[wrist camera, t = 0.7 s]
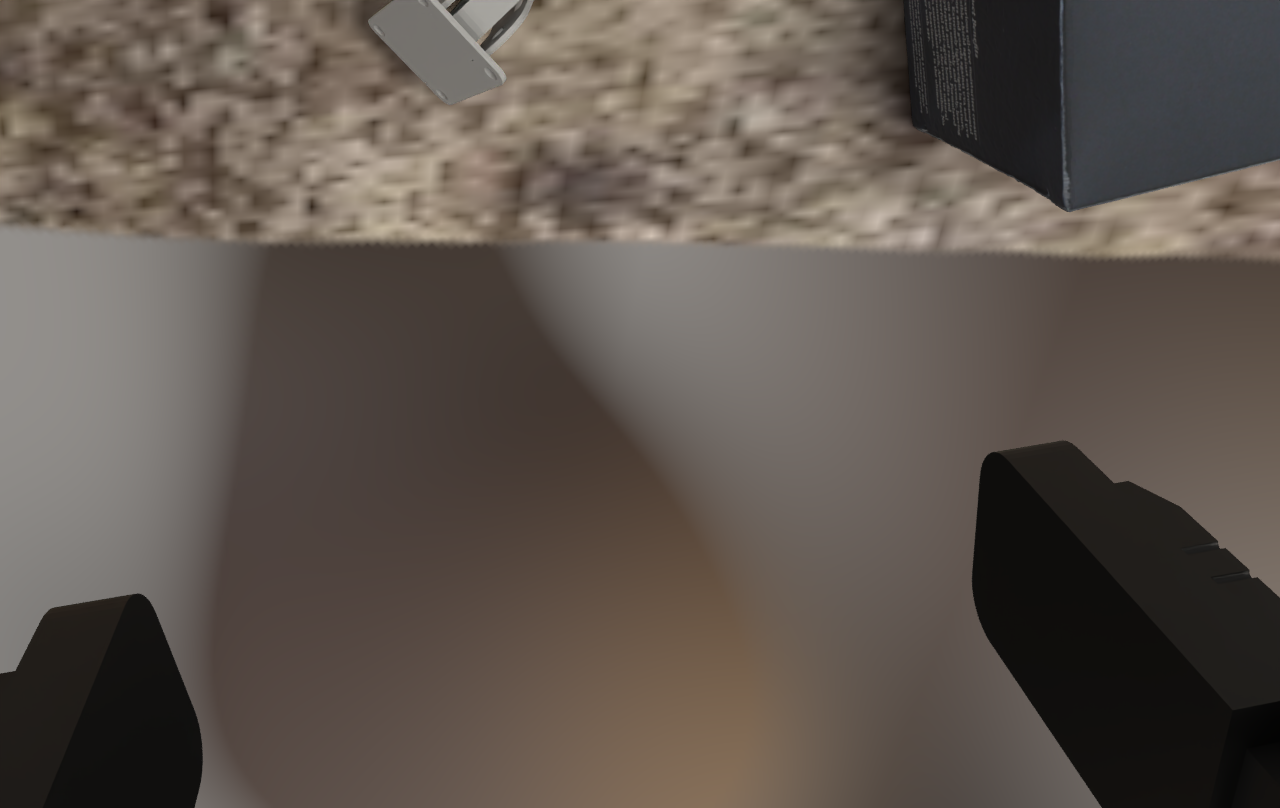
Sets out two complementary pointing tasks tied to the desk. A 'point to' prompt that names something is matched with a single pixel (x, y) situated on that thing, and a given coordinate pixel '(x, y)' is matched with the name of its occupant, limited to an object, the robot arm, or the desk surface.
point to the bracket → (450, 41)
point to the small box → (1099, 89)
